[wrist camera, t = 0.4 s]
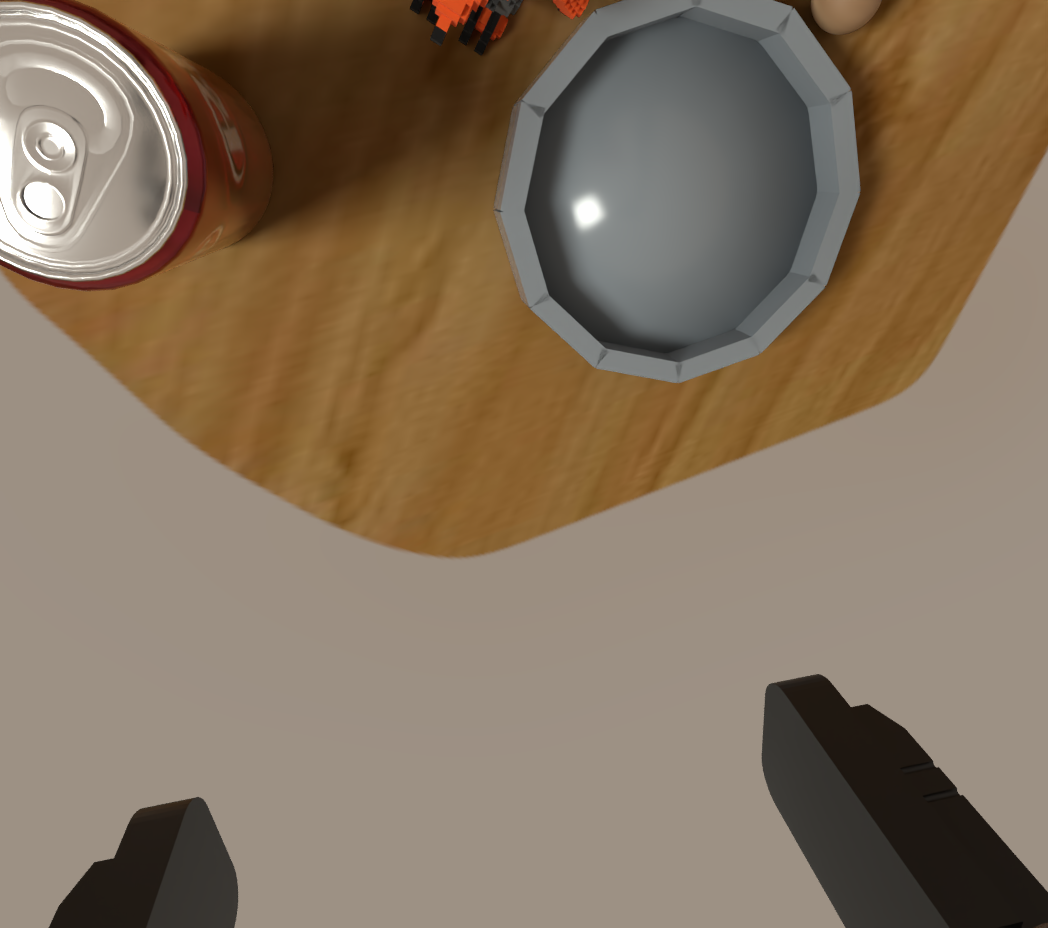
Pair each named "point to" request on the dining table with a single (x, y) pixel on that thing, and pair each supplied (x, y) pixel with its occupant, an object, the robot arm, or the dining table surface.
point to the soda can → (117, 151)
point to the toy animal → (482, 17)
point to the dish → (678, 183)
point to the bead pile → (843, 14)
